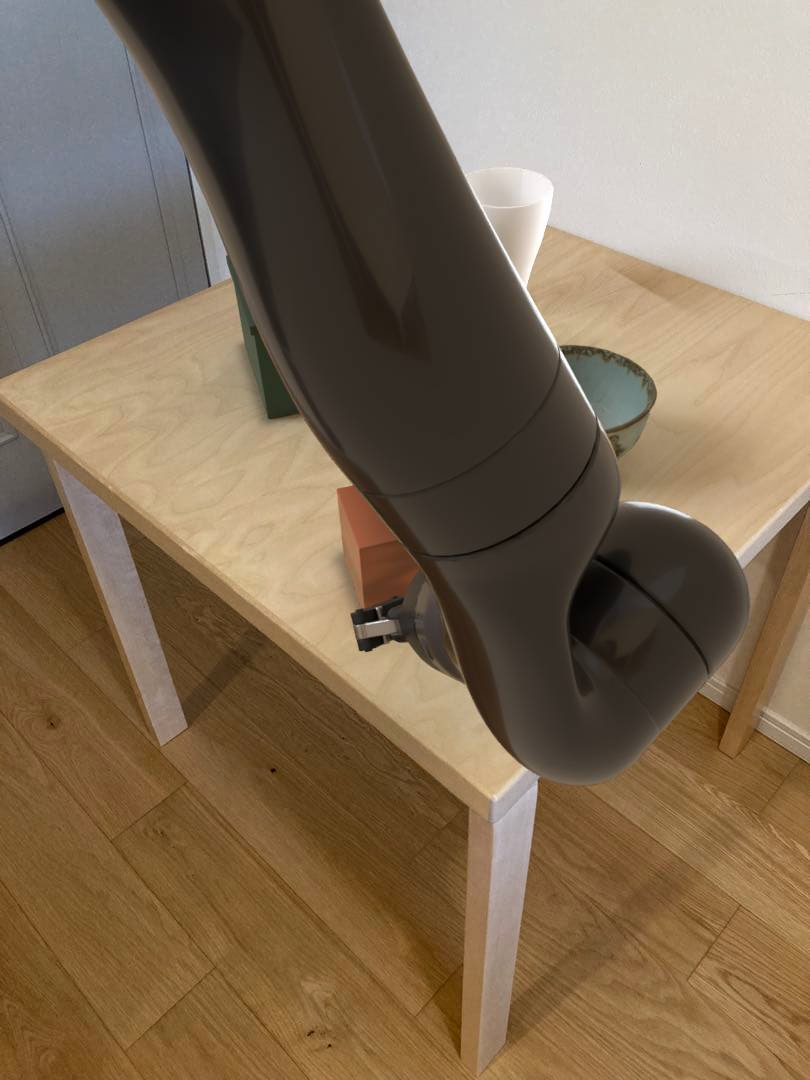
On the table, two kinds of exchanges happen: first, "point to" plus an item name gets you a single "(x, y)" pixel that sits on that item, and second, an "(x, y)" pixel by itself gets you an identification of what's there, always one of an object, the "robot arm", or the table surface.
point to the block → (372, 551)
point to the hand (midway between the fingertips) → (420, 603)
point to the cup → (515, 210)
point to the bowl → (614, 392)
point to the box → (262, 361)
